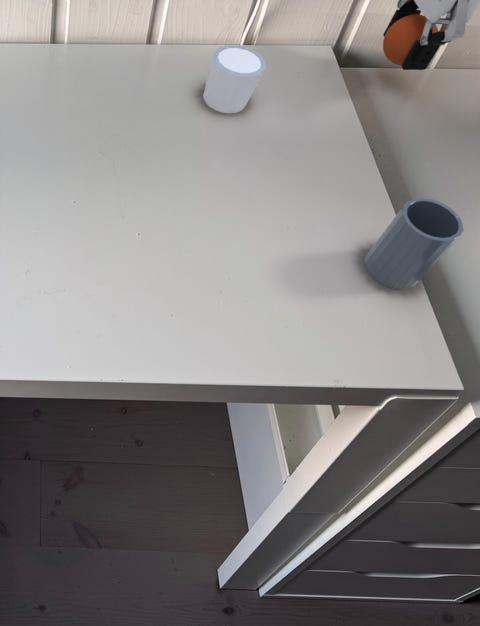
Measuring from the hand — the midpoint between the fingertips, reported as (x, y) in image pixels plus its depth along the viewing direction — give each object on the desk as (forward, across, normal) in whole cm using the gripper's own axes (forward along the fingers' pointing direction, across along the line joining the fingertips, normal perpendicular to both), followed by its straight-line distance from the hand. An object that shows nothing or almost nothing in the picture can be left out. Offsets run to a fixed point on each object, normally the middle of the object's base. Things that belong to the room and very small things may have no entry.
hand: (403, 51), depth 92 cm
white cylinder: (+5, -5, +25) cm, 26 cm away
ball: (-2, 0, 0) cm, 2 cm away
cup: (+5, -34, +12) cm, 37 cm away
